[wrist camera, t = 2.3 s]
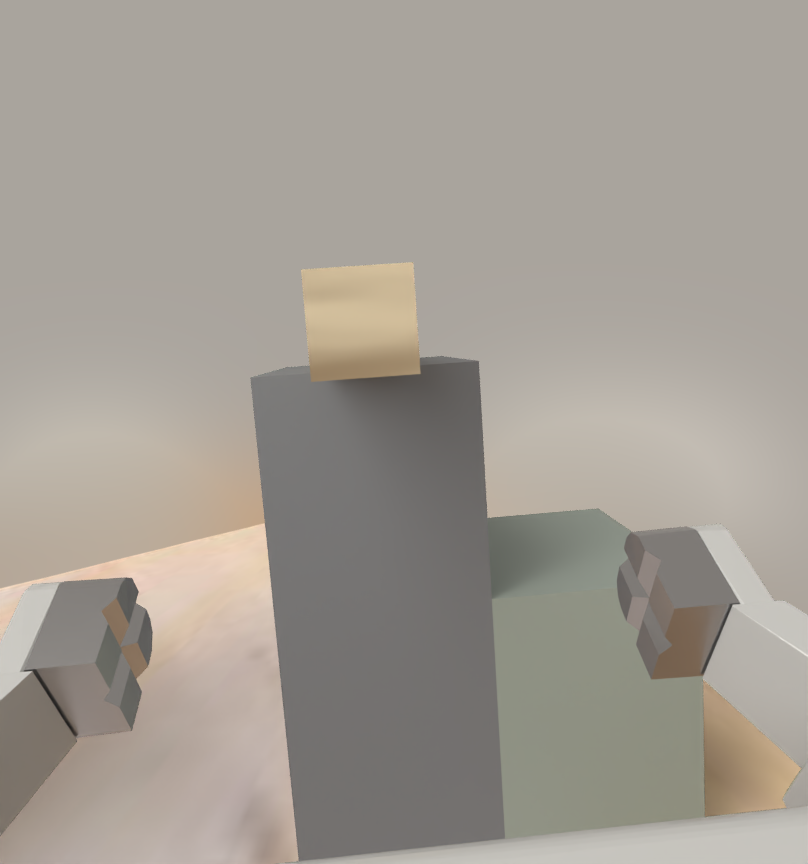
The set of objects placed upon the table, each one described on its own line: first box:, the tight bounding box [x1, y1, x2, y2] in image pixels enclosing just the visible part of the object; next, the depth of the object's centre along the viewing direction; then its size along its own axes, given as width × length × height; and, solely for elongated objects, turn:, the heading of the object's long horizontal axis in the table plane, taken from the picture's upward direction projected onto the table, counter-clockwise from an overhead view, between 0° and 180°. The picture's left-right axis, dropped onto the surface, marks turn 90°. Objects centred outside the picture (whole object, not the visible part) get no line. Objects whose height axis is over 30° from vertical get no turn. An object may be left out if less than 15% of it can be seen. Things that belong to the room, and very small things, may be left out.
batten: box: [301, 262, 421, 382], centre depth 31 cm, size 20×4×4 cm, turn 4°
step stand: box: [251, 356, 705, 861], centre depth 38 cm, size 14×20×26 cm
